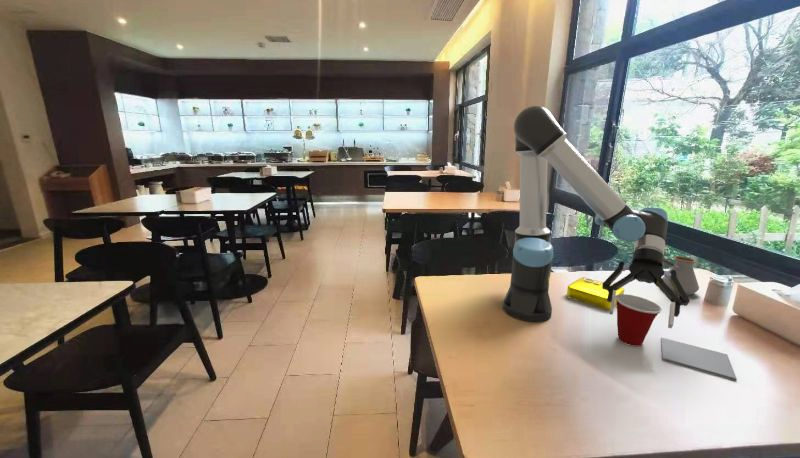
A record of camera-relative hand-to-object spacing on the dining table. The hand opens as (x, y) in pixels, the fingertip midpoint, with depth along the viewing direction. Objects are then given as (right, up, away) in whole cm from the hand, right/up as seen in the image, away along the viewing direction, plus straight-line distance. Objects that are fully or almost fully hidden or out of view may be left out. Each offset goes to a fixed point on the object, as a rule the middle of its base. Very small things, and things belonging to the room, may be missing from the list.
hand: (639, 319), depth 96 cm
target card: (+10, -9, -6) cm, 15 cm away
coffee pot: (+35, +1, +34) cm, 49 cm away
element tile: (+4, 0, +30) cm, 31 cm away
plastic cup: (-1, -7, +2) cm, 7 cm away
